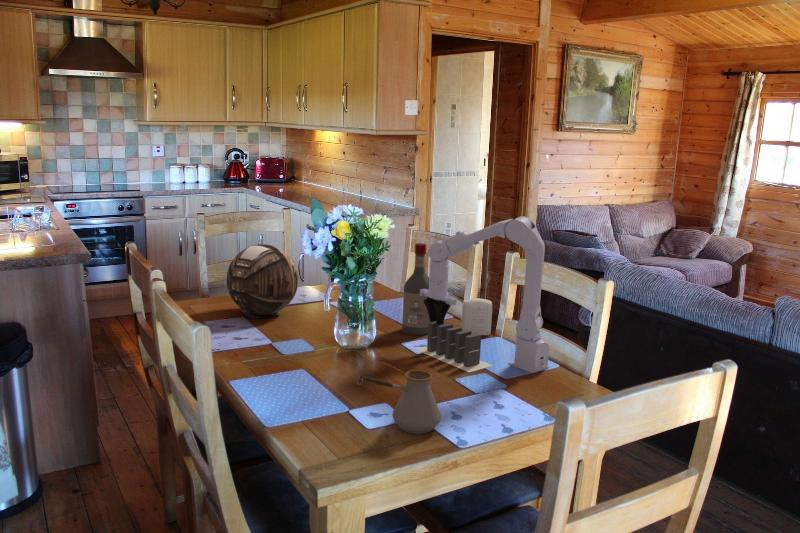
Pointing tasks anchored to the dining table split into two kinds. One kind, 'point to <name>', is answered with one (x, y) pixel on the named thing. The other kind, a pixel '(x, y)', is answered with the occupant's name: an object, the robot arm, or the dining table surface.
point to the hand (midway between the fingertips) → (436, 323)
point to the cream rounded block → (477, 316)
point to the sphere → (262, 279)
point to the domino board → (451, 361)
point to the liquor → (416, 297)
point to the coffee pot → (413, 402)
